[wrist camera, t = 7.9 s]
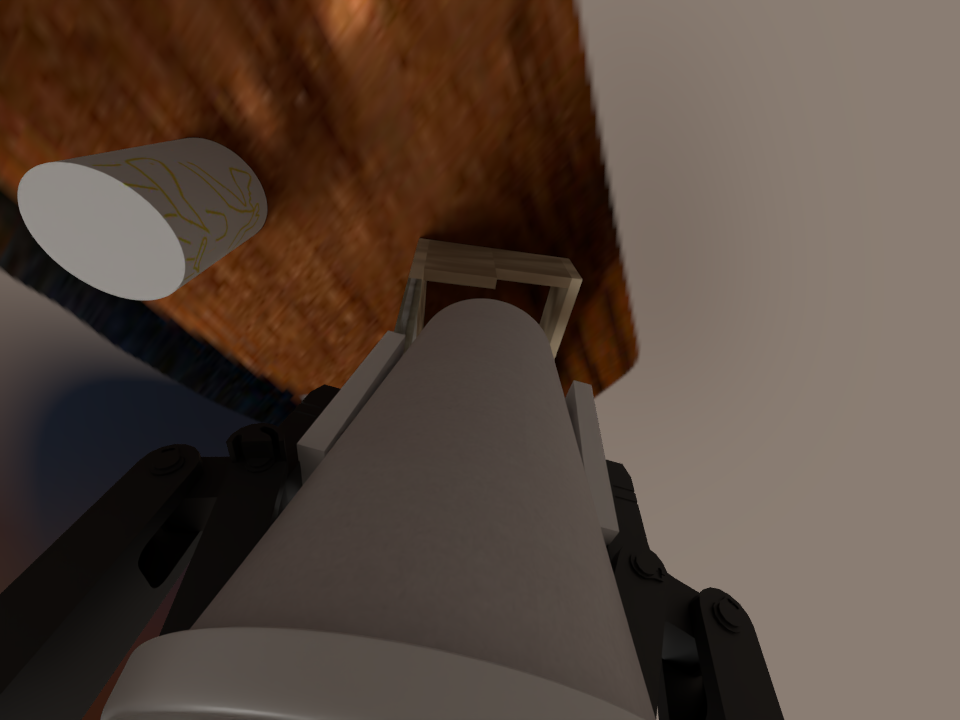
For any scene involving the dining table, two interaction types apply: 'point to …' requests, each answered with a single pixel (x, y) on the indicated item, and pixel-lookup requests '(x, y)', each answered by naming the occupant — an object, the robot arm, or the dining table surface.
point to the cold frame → (487, 282)
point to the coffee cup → (420, 563)
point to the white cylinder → (143, 214)
